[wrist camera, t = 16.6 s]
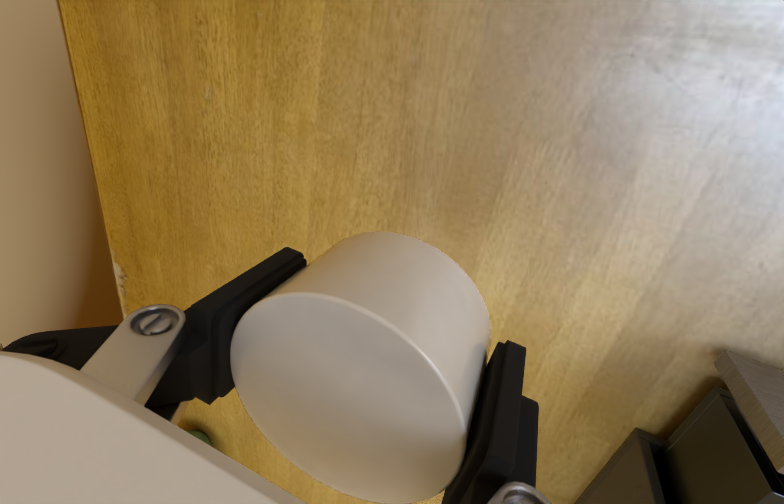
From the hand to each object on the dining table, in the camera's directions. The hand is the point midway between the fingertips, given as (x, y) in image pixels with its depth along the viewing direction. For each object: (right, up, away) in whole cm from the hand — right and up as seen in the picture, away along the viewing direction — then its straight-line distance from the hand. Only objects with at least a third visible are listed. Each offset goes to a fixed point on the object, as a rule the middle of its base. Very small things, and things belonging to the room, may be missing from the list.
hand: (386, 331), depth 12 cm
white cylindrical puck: (0, 0, +1) cm, 1 cm away
